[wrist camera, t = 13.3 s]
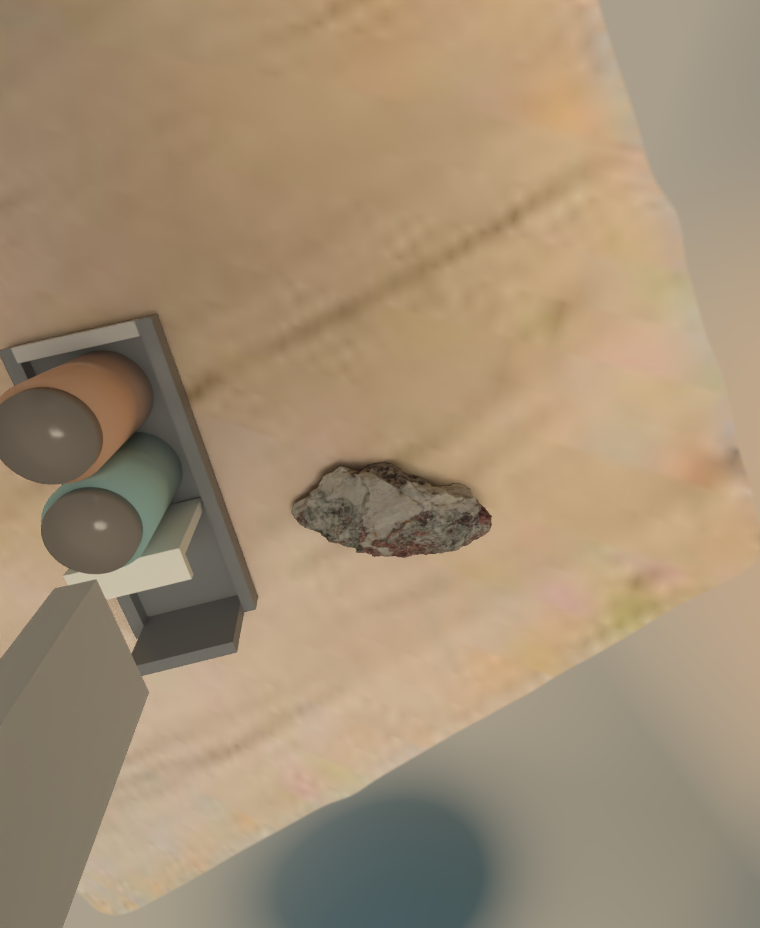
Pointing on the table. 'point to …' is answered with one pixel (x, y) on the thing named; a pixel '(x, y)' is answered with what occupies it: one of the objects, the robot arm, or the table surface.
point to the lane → (214, 540)
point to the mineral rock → (392, 512)
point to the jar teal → (113, 507)
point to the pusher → (153, 556)
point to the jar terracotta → (73, 417)
